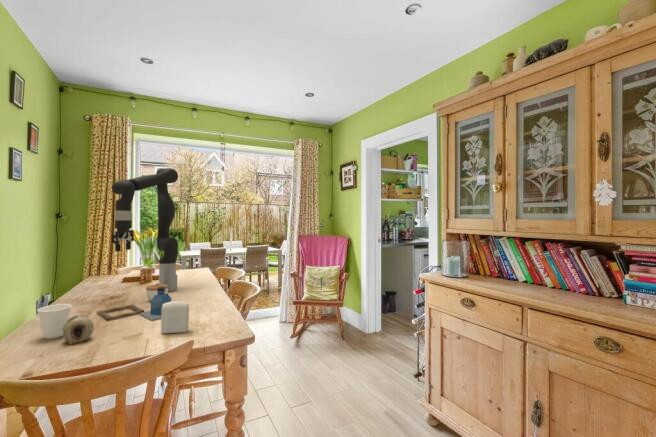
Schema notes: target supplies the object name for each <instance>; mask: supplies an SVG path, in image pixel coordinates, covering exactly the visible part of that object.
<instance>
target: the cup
mask: <svg viewBox="0 0 656 437" xmlns="http://www.w3.org/2000/svg"><path fill="white" fill-rule="evenodd" d="M71 308H72V304H69V303H58V304H52V305H46V306H42V307H39V308H38V309H37V310H36V311H37V312H38V317H39V321H40V325H41V330H42V336H43V338H45V339H48V340H49V339H51V340H53V339H58V338H60V337H63V330H62V328H63V326H64V324H65V323H66V322H67V320H69V316H70V312H71Z"/></svg>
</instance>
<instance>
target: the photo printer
mask: <svg viewBox="0 0 656 437" xmlns="http://www.w3.org/2000/svg"><path fill="white" fill-rule="evenodd" d="M189 320H190V305H189V303H188V302H186V301H182V300H180V301H179V300H173V301H172V300H171V302H167V303H164V304H163V305H162V309H161V319H160V333H161V334H173V333H174V334H176V333H177V334H178V333H187V332H188V331H189V328H190V327H189V322H190V321H189Z"/></svg>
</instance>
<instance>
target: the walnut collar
mask: <svg viewBox="0 0 656 437" xmlns="http://www.w3.org/2000/svg"><path fill="white" fill-rule="evenodd" d="M123 310H131V311H130V312H125V313H120V314H119V313H118V314H116V315H115V314H114V315H110V314H109V313H115V312H118V311H123ZM142 312H145V309H143V308H140V307H138V306H136V305H135V304H129V305H123V306H117V307H113V308H112V307H111V308H107V309H101V310H97V311H96V315H98V316H99V317H100V318H102V319H104V320H105V321H107V322H108V321H110V322H111V321H113V320H114V321H115V320H117V319H118V320H119V319H123V318H128V317H132V316H137V315H139V313H142Z"/></svg>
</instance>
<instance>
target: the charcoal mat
mask: <svg viewBox="0 0 656 437" xmlns="http://www.w3.org/2000/svg"><path fill="white" fill-rule="evenodd" d="M138 315H139V316H141V317H143V318H145V319H147V320H148V321H151V322H154V321H158V320H161V315H151V310H147V311H144V312H142V313H139V314H138Z"/></svg>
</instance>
